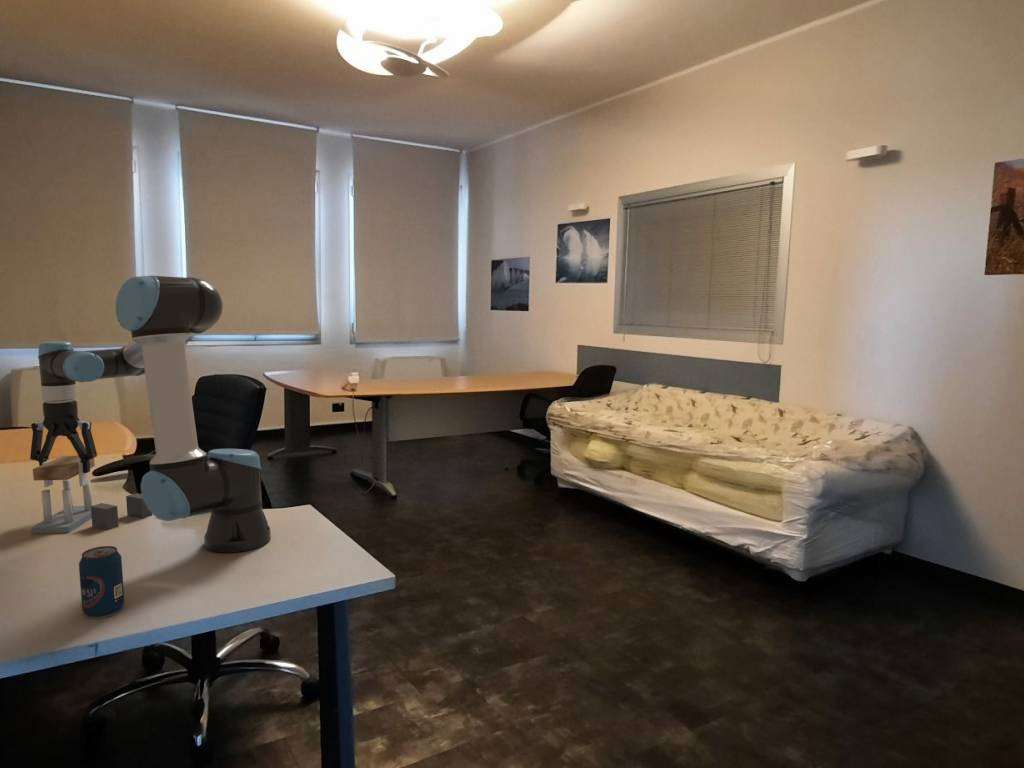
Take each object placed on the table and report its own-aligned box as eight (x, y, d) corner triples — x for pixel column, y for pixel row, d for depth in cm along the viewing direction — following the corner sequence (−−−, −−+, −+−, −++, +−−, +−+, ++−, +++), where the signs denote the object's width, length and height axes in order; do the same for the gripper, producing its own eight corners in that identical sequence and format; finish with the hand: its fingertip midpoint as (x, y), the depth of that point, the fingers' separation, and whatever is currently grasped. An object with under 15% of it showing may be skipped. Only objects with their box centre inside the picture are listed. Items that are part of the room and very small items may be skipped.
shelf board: (94, 466, 185) (93, 455, 185) (67, 479, 171) (66, 468, 171) (63, 466, 184) (62, 456, 184) (33, 480, 171) (32, 469, 170)
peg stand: (103, 510, 189) (101, 475, 188) (69, 532, 171) (66, 494, 170) (69, 511, 188) (66, 476, 187) (31, 533, 170) (28, 495, 169)
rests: (152, 515, 185) (151, 495, 184) (107, 529, 173) (106, 509, 173) (137, 512, 188) (136, 493, 187) (92, 526, 176) (90, 506, 175)
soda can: (73, 618, 126) (68, 556, 124) (101, 602, 133) (97, 543, 131) (106, 621, 125) (101, 559, 123) (133, 604, 131) (129, 546, 130)
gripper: (108, 398, 180) (114, 480, 183) (25, 398, 178) (32, 482, 181) (95, 402, 173) (101, 488, 176) (7, 403, 170) (15, 490, 173)
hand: (66, 485), depth 178 cm, fingers closed on shelf board, 8 cm apart
